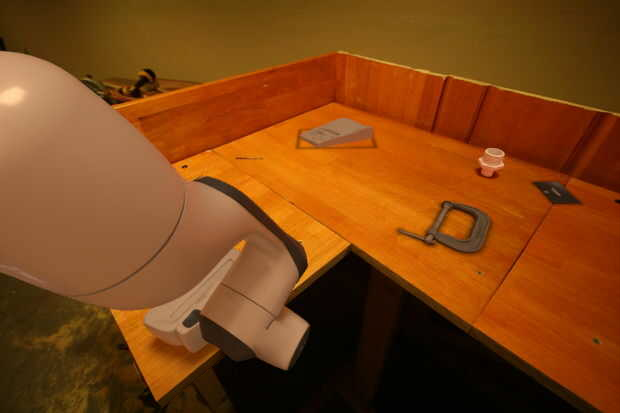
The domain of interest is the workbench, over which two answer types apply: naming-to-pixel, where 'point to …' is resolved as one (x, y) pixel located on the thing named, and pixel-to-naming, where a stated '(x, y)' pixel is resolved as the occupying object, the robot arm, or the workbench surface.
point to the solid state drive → (556, 193)
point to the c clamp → (460, 245)
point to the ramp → (337, 133)
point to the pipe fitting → (491, 161)
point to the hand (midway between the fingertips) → (173, 272)
